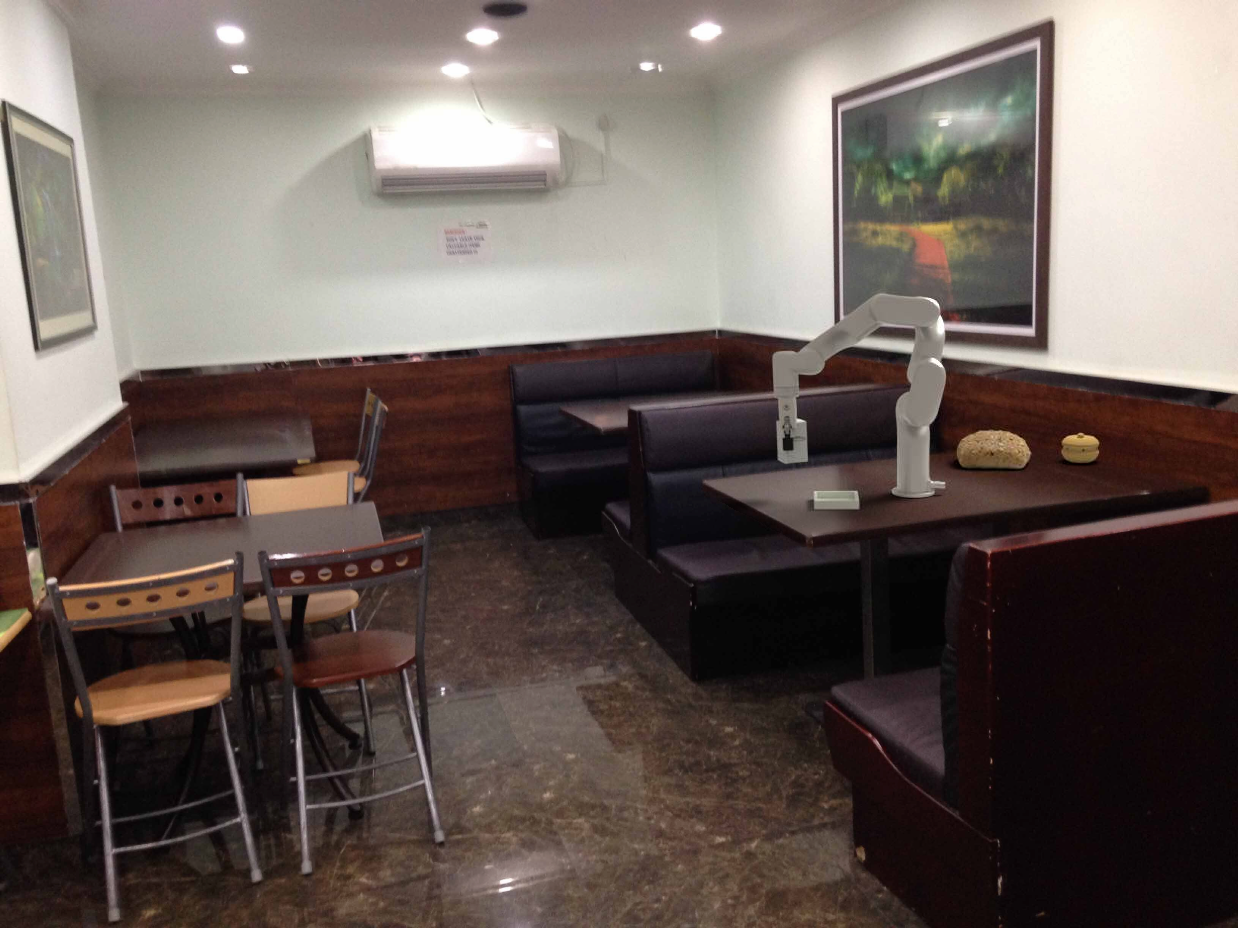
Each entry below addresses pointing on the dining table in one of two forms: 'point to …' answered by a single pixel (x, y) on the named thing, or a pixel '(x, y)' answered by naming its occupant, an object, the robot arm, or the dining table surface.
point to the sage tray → (836, 500)
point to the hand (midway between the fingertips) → (788, 447)
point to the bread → (993, 450)
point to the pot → (1080, 448)
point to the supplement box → (798, 443)
